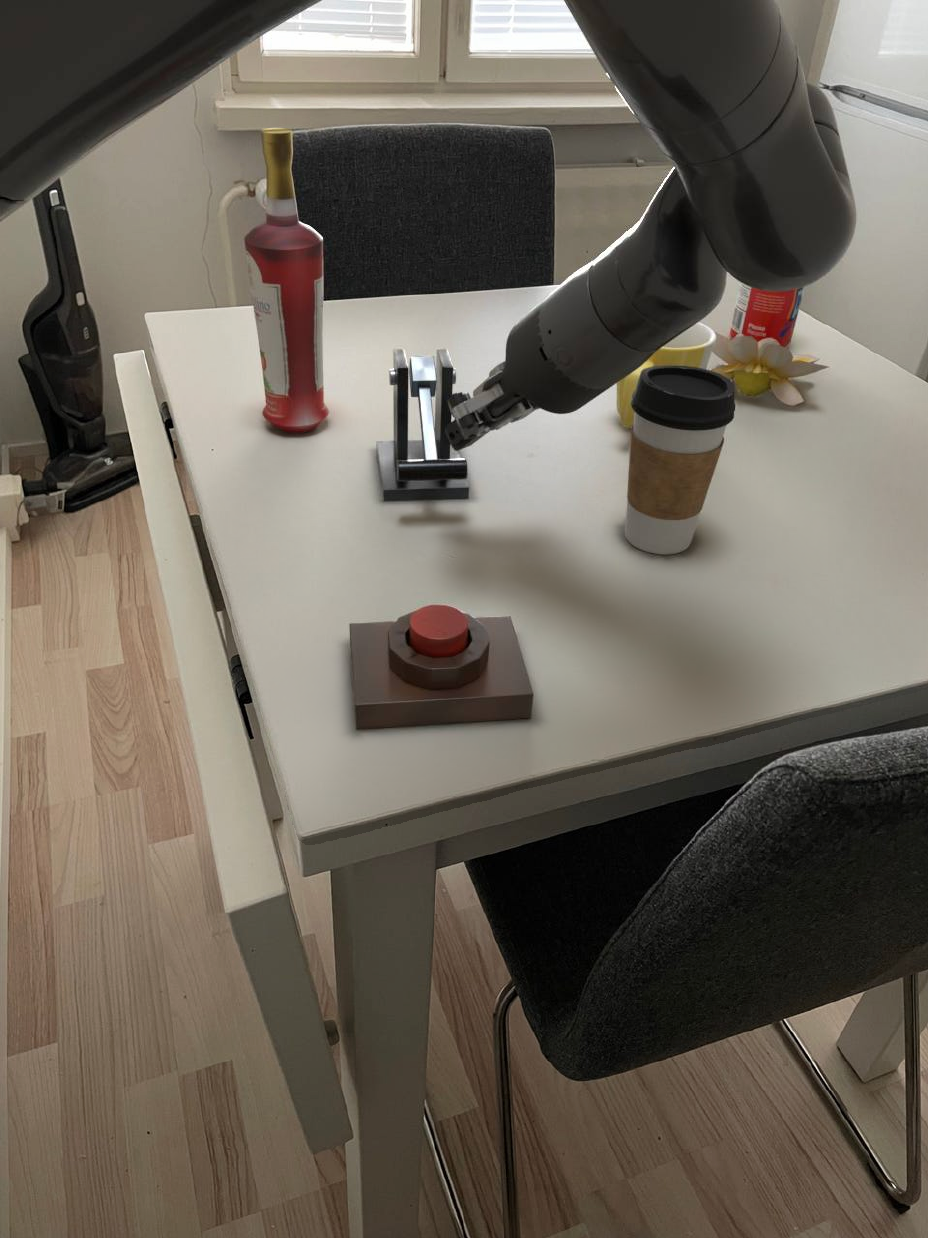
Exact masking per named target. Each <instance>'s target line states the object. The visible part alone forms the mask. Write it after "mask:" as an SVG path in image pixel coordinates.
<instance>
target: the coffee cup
mask: <svg viewBox="0 0 928 1238" xmlns="http://www.w3.org/2000/svg"><path fill="white" fill-rule="evenodd" d="M710 370H711V369H707V368H706V369H702V368H697V367H690V366H672V365H669V366H654V367H648V368H645V369H643V370H642V371H641V373H640V376H639V380H638V383H637V387H636V390H635V391H634V392H633V394H632V400H631V407H632V408H633V410H634V411H635V414H634V423H633V424H632V427H631V428H630V441H629V455H628V474H627V475H628V476H627V491H626V493H627V495H626V498H627V502H626V510H625V511H626V512H625V523H624V524H625V525H624V535H625V538H626V540H627V541H628V542H629V543H630V544H631V545H632V546H634V547H635V548H637V549H638V550H642V551H644V552H647V553H651V554H657V555H675V554H679V553H681V552H683V551H685V550H687V549H688V548H689V547H690V546H691V543H692V541H693V538H694V534H695V531H696V528H697V524H698V521H699V517H700V515H701V511H702V509H703V507H704V504H705V500H706V498H707V495H708V492H709V489H710V485H711V482H712V479H713V476H714V473H715V470H716V467H717V465H718V461H719V458H720V456H721V454H722V453H721V452H722V449H723V446H724V444H725V437H724V436H725V432H726V428H727V425H729V424H730V423H731V422H733V420H734V418H735V411H736V402H735V393H736V386H735V384H734V382H732V380H729V379H728V378H727V377H725V376H723V375H721V374H719V373H716V372H713V371H710Z"/></svg>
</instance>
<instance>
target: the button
mask: <svg viewBox="0 0 928 1238" xmlns="http://www.w3.org/2000/svg"><path fill="white" fill-rule="evenodd" d="M414 611H415V612H414V613H413V614H412V616H411V618H410V645H411V647H412V648H413V650H414V651H415V652H417V653H418V654H421V655H424V656H427V657H431V658H448V657H453V656H455V655H458V654H460V653H461V652H462V651H463V650H464V649H465V647H466V645H467V636H468V619H467V617H466V615H465V614H464V613H465V612H464V611H462V610H460V609H458V608H457V607H455V606H452V605H448V604H447V605H446V604H430V605H429V604H428V605H425V606H422V607H420V608H418V609H416V610H414ZM463 612H464V613H463Z"/></svg>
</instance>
